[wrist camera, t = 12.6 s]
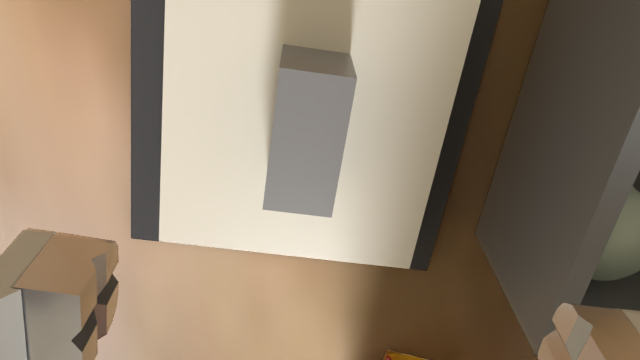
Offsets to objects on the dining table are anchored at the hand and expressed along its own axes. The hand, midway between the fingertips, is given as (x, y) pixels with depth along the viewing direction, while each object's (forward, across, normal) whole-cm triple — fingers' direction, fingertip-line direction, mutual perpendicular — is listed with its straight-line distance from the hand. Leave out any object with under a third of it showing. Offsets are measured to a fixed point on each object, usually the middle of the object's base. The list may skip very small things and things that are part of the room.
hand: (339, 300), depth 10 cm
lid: (+14, +1, +1) cm, 14 cm away
